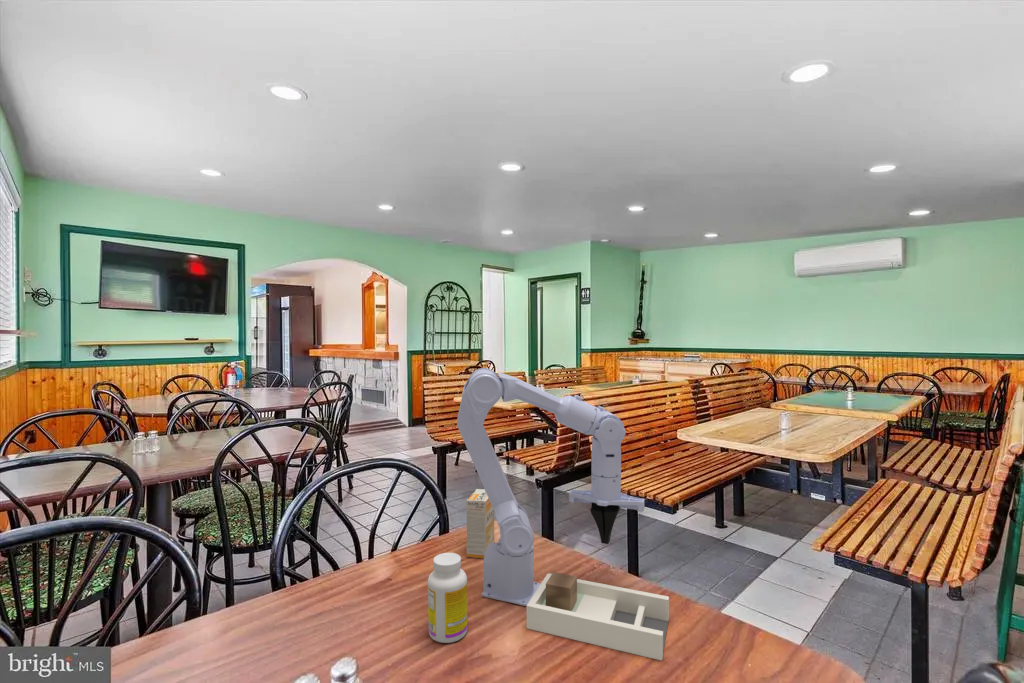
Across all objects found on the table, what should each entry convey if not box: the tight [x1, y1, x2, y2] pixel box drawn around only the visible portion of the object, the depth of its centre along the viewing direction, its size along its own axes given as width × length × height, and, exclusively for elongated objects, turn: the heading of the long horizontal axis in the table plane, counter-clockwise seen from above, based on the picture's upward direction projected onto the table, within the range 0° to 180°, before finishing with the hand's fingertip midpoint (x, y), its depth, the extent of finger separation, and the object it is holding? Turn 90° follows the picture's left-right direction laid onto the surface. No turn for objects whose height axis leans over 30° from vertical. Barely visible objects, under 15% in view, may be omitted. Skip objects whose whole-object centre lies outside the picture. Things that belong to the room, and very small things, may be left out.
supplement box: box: [465, 488, 495, 560], centre depth 117 cm, size 8×5×13 cm, turn 168°
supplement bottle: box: [427, 552, 469, 644], centre depth 86 cm, size 7×7×13 cm
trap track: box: [526, 573, 670, 661], centre depth 89 cm, size 22×12×4 cm, turn 68°
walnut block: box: [546, 571, 578, 611], centre depth 91 cm, size 4×4×4 cm
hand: (605, 541), depth 100 cm, fingers closed
